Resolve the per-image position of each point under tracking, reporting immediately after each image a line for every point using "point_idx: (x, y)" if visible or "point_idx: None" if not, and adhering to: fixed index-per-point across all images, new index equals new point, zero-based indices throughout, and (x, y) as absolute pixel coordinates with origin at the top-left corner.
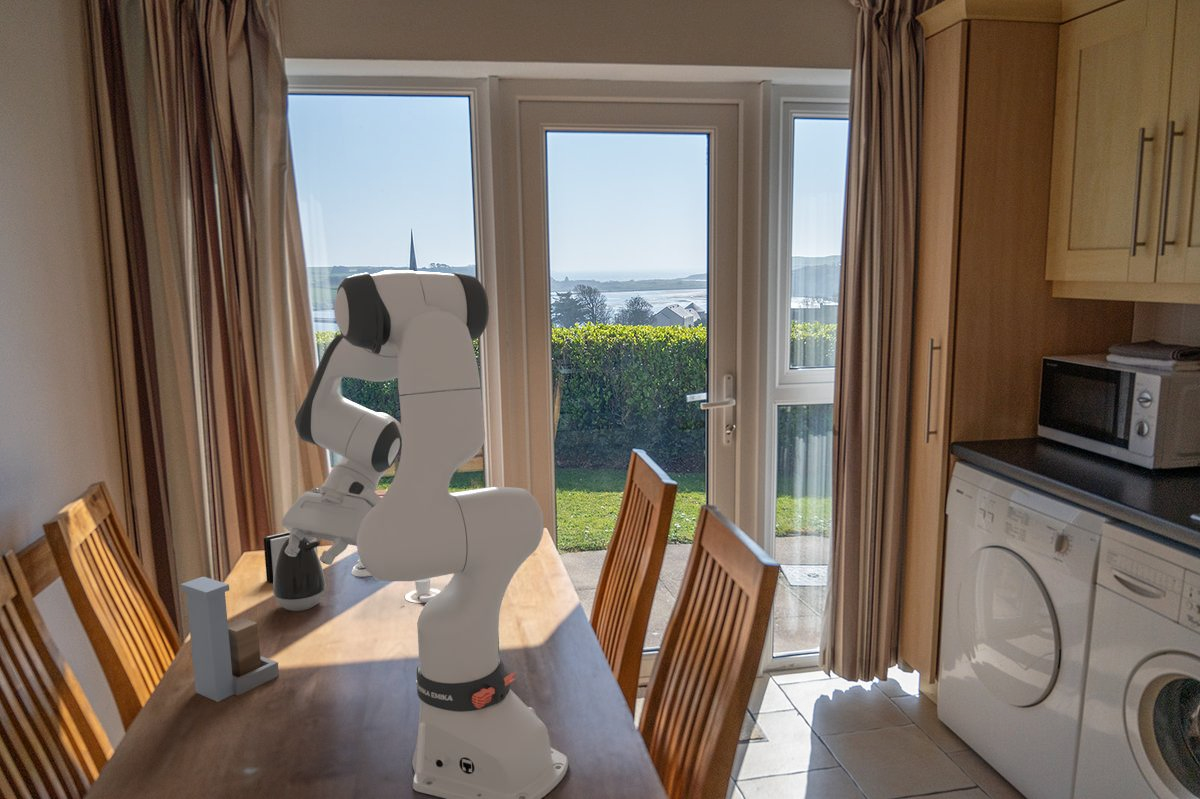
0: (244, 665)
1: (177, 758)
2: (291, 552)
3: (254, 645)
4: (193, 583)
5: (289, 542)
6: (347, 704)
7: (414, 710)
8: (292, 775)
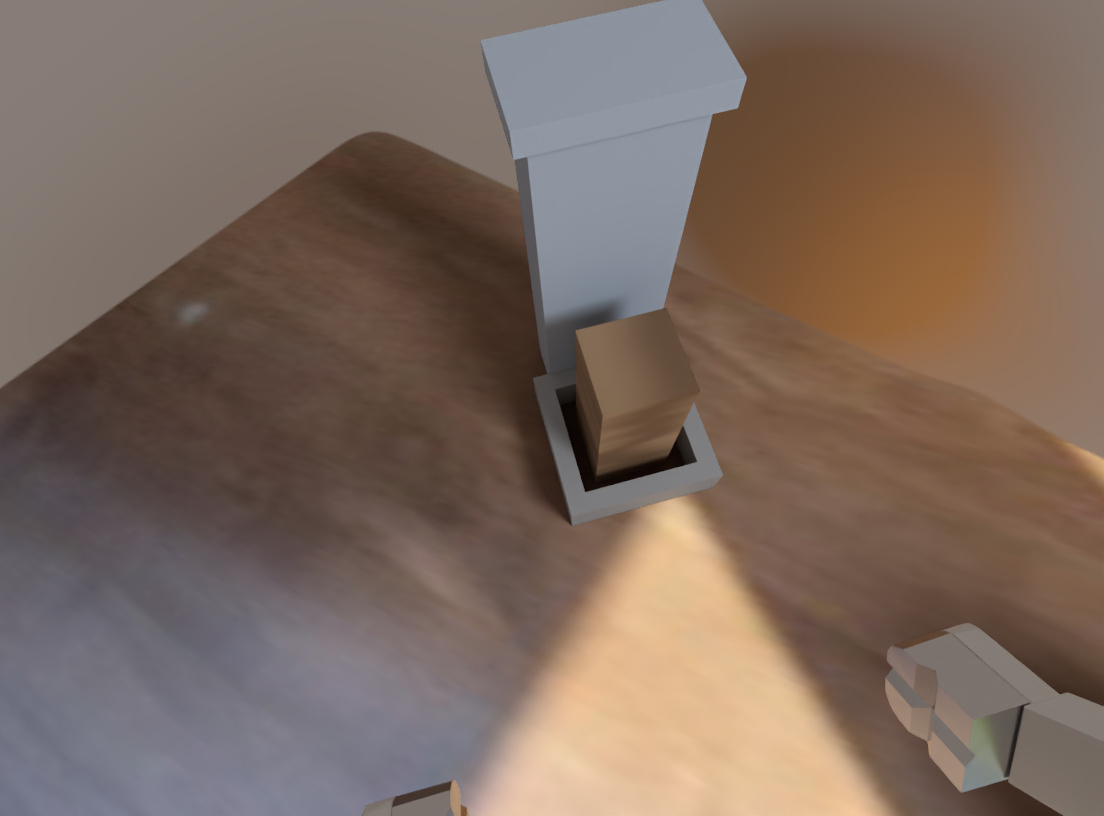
0: (580, 408)
1: (359, 228)
2: (898, 665)
3: (594, 428)
4: (663, 29)
5: (1068, 701)
6: (244, 607)
7: (29, 758)
8: (96, 365)
